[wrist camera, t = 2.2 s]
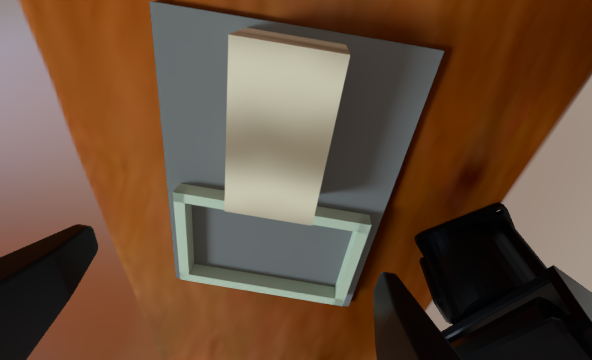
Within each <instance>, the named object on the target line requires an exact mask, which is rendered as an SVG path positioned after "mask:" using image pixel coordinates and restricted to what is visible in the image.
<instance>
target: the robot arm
mask: <svg viewBox="0 0 592 360" xmlns="http://www.w3.org/2000/svg"><path fill="white" fill-rule="evenodd" d="M498 210H500V211H498ZM497 211H498V212H497ZM421 239H424V240H422V241H420V240H421ZM415 242H416V244H417V246H418V247H419V249H420V251H421V252H422V254H423V256H424V257H423V258H421V259H420V261H419V262H420V265H421V268H422V270H423V273H424V276H425V279H426V282H427V285H428V287H429V290H430V293H431V296H432V299H433V302H434V304H435V305H436V307H437V308H438V310H439V311H440V313H441V314H442V316H443V317H444V319H445V321H446V322H448V323H449V324H453V325H452V326H450V327H448V328H447V329H445V330H443V331H442V332H440V330H439V329H438V328H437V327H436V325H435V324H434V323H433V321H432V320H431V319H430V317H429V316H428V315H427V314H426V312H425V311H424V310H423V308H422V307H421V306H420V305H419V303H418V302H417V301H416V299H415V298H414V297H413V296H412V294H411V293H410V292H409V290H408V289H407V288H406V287H405V285H404V284H403V283H402V281H401V280H400V279H399V278H398V276H397V275H396V274H394V273H388V272H382V273H381V274H380V276H379V278H378V281H377V283H376V286H375V289H374V294H373V300H374V327H375V347H376V355H377V360H592V292H590V291H589V290H587V289H586V288H584V287H583V286H582V285H580V284H579V283H578V282H576V281H575V280H573V279H572V278H571V277H569V276H568V275H566V274H565V273H564V272H562V271H561V270H559V269H558V268H557V267H555V266H554V265H553V266H551V267H549V268H547V267H546V266H545V265H544V264H543V262H542V261H541V260H540V259H539V257H538V256H537V255H536V254H535V252H534V251H533V250H532V249H531V248H530V246H529V245H528V244H527V243H526V241H525V240H524V239H523V238H522V237H521V235H520V234H519V233H518V232H517V230H516V229H515V227H514V224H513V222H512V219H511V217H510V214H509V212H508V210H507V208H506V207H505V206H504V205H503V204H501V203H497V204H494V205H491V206H489V207H486V208H484V209H481V210H479V211H476V212H473V213H471V214H468V215H466V216H463V217H461V218H458V219H455V220H453V221H450V222H448V223H445V224H443V225H440V226H437V227H435V228H432V229H430V230H427V231H425V232H422V233H419V234H418V235H416V236H415ZM97 250H98V243H97V240H96V237H95V233H94V230H93V228H92V227H91V226H86V225H80V224H77V225H74V226H72V227H69V228H67V229H65V230H62V231H60V232H58V233H55V234H53V235H51V236H49V237H46V238H44V239H42V240H39V241H37V242H35V243H33V244H30V245H28V246H26V247H23V248H21V249H19V250H17V251H14V252H12V253H9V254H7V255H5V256H3V257H0V360H26V359H27V358H28V357H29V355H30V354H31V352H32V351H33V350H34V348H35V347H36V345H37V344H38V343H39V341H40V340H41V338H42V337H43V336H44V334H45V333H46V331H47V330H48V329H49V327H50V326H51V324H52V323H53V322H54V320H55V319H56V318H57V316H58V315H59V313H60V312H61V311H62V309H63V308H64V306H65V305H66V303H67V302H68V301H69V299H70V297H71V296H72V294H73V293H74V291H75V289H76V288H77V286H78V284H79V282H80V281H81V279H82V277H83V276H84V274H85V272H86V270H87V269H88V267H89V265H90V264H91V262H92V260H93V258H94V256H95V255H96V253H97Z"/></svg>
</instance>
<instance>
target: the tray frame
mask: <svg viewBox="0 0 592 360" xmlns="http://www.w3.org/2000/svg"><path fill="white" fill-rule="evenodd" d="M224 202H225V191H223V190H217V189H211V188H206V187H200V186H194V185H188V184H182V183H179V185H178V186H177V187H176V188H175V190H174V191H173V203H174V214H175V226H176V237H177V249H178V260H179V272H180V279H181V280H187V281H193V282H200V283H206V284H212V285H218V286H224V287H230V288H236V289H242V290H248V291H254V292H260V293H266V294H272V295H278V296H284V297H290V298H296V299H302V300H308V301H314V302H320V303H326V304H332V305H338V306H343V304H344V301H345V298H346V295H347V292H348V290H349V287H350V284H351V281H352V278H353V276H354V273H355V270H356V267H357V264H358V262H359V259H360V256H361V253H362V251H363V248H364V245H365V242H366V239H367V237H368V234H369V231H370V228H371V221H370V215H367V214H361V213H355V212H349V211H343V210H337V209H331V208H325V207H319V206H316V211H315V215H314V220H313V224H312V225H318V226H324V227H330V228H336V229H342V230H348V231H353V232H352V235H351V239H350V242H349V245H348V248H347V251H346V254H345V257H344V260H343V264H342V267H341V270H340V273H339V276H338V279H337V282H336V285H335V287H331V286H325V285H319V284H313V283H307V282H301V281H295V280H289V279H283V278H277V277H271V276H265V275H259V274H253V273H247V272H241V271H235V270H229V269H223V268H217V267H211V266H205V265H199V264H194V248H193V228H192V207H191V204H192V205H198V206H204V207H210V208H216V209H222V210H224Z"/></svg>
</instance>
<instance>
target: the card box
mask: <svg viewBox="0 0 592 360" xmlns="http://www.w3.org/2000/svg"><path fill="white" fill-rule="evenodd" d="M349 59H350V53H349V51H348V48H347V46H346V44H341V43H335V42H329V41H323V40H317V39H311V38H305V37H299V36H293V35H287V34H281V33H275V32H270V31H264V30H258V29H252V28H244V29H241V30H238V31H236V32H233V33H231V34H228V74H227V117H226V159H225V202H224V211H226V212H232V213H238V214H244V215H250V216H256V217H262V218H268V219H274V220H280V221H286V222H292V223H298V224H304V225H310V226H312V224H313V220H314V215H315V211H316V206H317V202H318V197H319V193H320V189H321V184H322V180H323V175H324V171H325V166H326V162H327V157H328V153H329V148H330V144H331V139H332V135H333V130H334V126H335V121H336V117H337V113H338V108H339V104H340V99H341V95H342V90H343V86H344V81H345V77H346V72H347V68H348V63H349Z"/></svg>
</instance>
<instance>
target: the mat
mask: <svg viewBox="0 0 592 360" xmlns="http://www.w3.org/2000/svg"><path fill="white" fill-rule="evenodd" d="M150 12H151V22H152V32H153V43H154V53H155V63H156V74H157V84H158V94H159V105H160V115H161V126H162V136H163V146H164V157H165V167H166V177H167V188H168V198H169V208H170V219H171V229H172V240H173V250H174V260H175V271H176V278H180V272H179V260H178V249H177V237H176V226H175V214H174V203H173V191H174V190H175V188H176V187H177V186H178V185H179V183H182V184H188V185H194V186H200V187H206V188H211V189H217V190H223V191H225V159H226V117H227V74H228V34H231V33H233V32H236V31H238V30H241V29H244V28H252V29H258V30H264V31H270V32H275V33H281V34H287V35H293V36H299V37H305V38H311V39H317V40H323V41H329V42H335V43H341V44H346V46H347V48H348V51H349V53H350V59H349V63H348V68H347V72H346V77H345V81H344V86H343V90H342V95H341V99H340V104H339V108H338V113H337V117H336V121H335V126H334V130H333V135H332V139H331V144H330V148H329V153H328V157H327V162H326V166H325V171H324V175H323V180H322V184H321V189H320V193H319V197H318V202H317V206H319V207H325V208H331V209H337V210H343V211H349V212H355V213H361V214H367V215H370V221H371V228H370V231H369V234H368V237H367V239H366V242H365V245H364V248H363V251H362V253H361V256H360V259H359V262H358V264H357V267H356V270H355V273H354V276H353V278H352V281H351V284H350V287H349V290H348V292H347V295H346V298H345V301H344V304H343V306H349V304H350V301H351V299H352V296H353V293H354V291H355V288H356V285H357V283H358V280H359V277H360V275H361V272H362V269H363V267H364V264H365V261H366V259H367V256H368V253H369V251H370V248H371V245H372V243H373V240H374V237H375V235H376V232H377V229H378V227H379V224H380V221H381V219H382V216H383V213H384V211H385V208H386V205H387V203H388V200H389V197H390V195H391V192H392V189H393V187H394V184H395V181H396V179H397V176H398V173H399V171H400V168H401V165H402V163H403V160H404V157H405V155H406V152H407V149H408V147H409V144H410V141H411V139H412V136H413V133H414V131H415V128H416V126H417V123H418V120H419V118H420V115H421V112H422V110H423V107H424V104H425V102H426V99H427V96H428V94H429V91H430V88H431V86H432V83H433V80H434V78H435V75H436V72H437V70H438V67H439V64H440V62H441V59H442V56H443V54H444V51H443V50H440V49H434V48H428V47H422V46H416V45H410V44H405V43H399V42H393V41H387V40H381V39H375V38H369V37H363V36H357V35H351V34H345V33H339V32H334V31H328V30H322V29H316V28H310V27H304V26H298V25H292V24H286V23H280V22H274V21H269V20H263V19H257V18H251V17H245V16H239V15H233V14H227V13H221V12H215V11H209V10H203V9H198V8H192V7H186V6H180V5H174V4H168V3H162V2H156V1H150ZM191 207H192V228H193V248H194V264H199V265H205V266H211V267H217V268H223V269H229V270H235V271H241V272H247V273H253V274H259V275H265V276H271V277H277V278H283V279H289V280H295V281H301V282H307V283H313V284H319V285H325V286H331V287H335V285H336V282H337V279H338V276H339V273H340V270H341V267H342V264H343V260H344V257H345V254H346V251H347V248H348V245H349V242H350V239H351V235H352V232H353V231H348V230H342V229H336V228H330V227H324V226H318V225H312V226H310V225H304V224H298V223H292V222H286V221H280V220H274V219H268V218H262V217H256V216H250V215H244V214H238V213H232V212H226V211H224V210H222V209H216V208H210V207H204V206H198V205H192V204H191Z"/></svg>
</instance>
